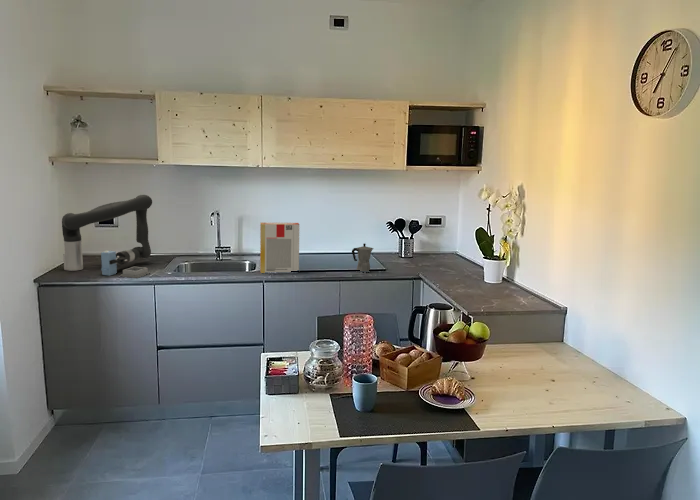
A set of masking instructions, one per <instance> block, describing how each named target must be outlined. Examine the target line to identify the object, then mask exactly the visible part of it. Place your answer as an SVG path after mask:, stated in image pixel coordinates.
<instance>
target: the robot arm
mask: <svg viewBox="0 0 700 500" xmlns="http://www.w3.org/2000/svg"><path fill="white" fill-rule="evenodd" d="M152 205H153V200H152V198H151V197H150V196H149V195H147V194H140V195H137V196H136V197H134V198H131V199H128V200H121V201H116V202H115V201H114V202H109V203H106V204H102V205H100V206H96V207H95V208H93V209H91V210H89V211H84V212H81V213H72V212H68V213H66V214H64V215H63V216H62V217H61V218H62V219H61V229H62V236H63V248H64V253H63V269H64V271H70V272H71V271H72V272H73V271H80V270H83V269H84V264H83V263H84V262H83V244H82V234H81V228H83V227H86V226H88V225H91V224H95V223H101V222H104V221H109V220H114V219H115V218H118V217H122V216H125V215H127V214H129V213H133V212H135V217H136V218H135V219H136V220H135V221H136V227H135V228H136V232H135V235H136V236H135V237H136V238H135V240H136V243H139V244H141V246H136V247H133V248H132V249H127V250H122V251H118V252H116V259H115V260H110V261H109V262H110V264H114V263H115V264H116V265H117V264H118V265H125V264H128V263H131V262H134V261H137V260H139V259H148V258H150V257H151V255H152V250H151V246H150V245H151V244H150V242H149V226H148V219H147V216H148V215H147V214H148V209H150V208H151V206H152ZM100 263H101V265H102V260H100Z"/></svg>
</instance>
